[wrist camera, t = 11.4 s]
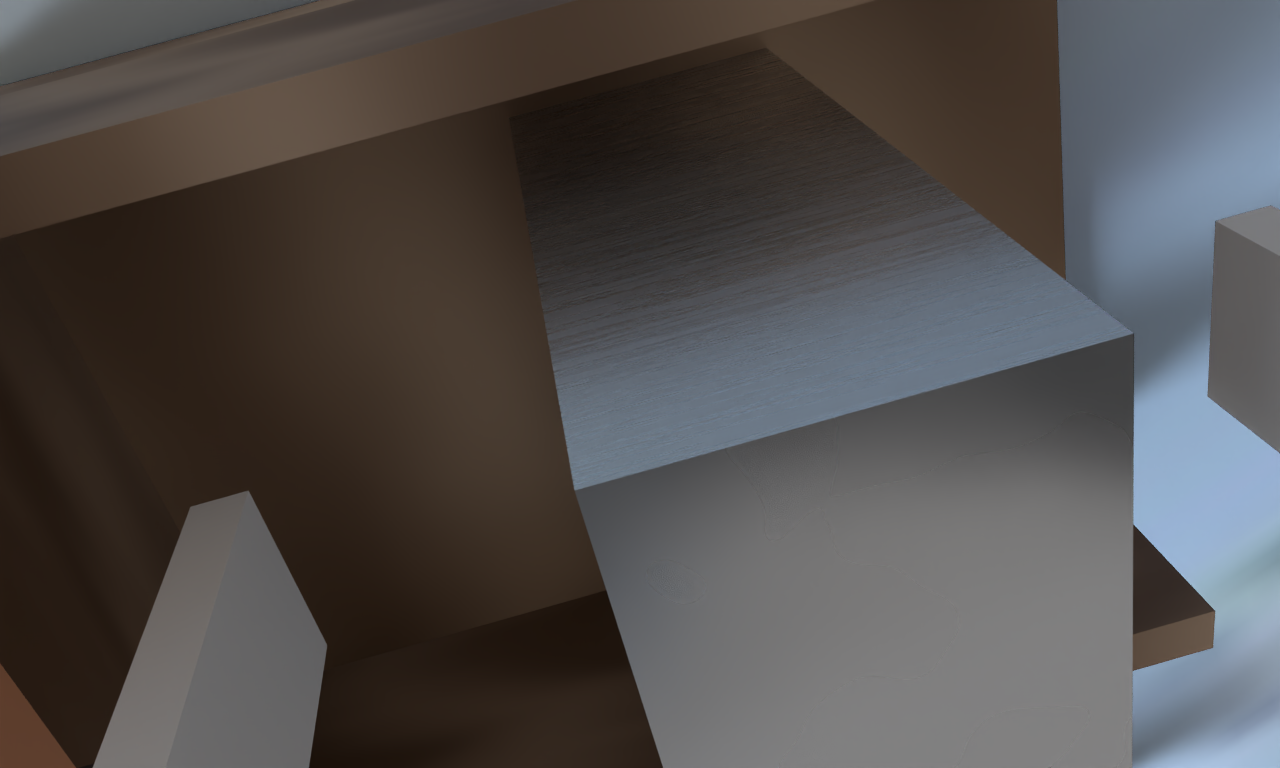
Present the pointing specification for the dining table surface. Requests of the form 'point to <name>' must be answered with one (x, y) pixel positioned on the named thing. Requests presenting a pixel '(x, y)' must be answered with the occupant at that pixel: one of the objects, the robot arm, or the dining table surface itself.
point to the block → (830, 436)
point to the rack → (396, 343)
